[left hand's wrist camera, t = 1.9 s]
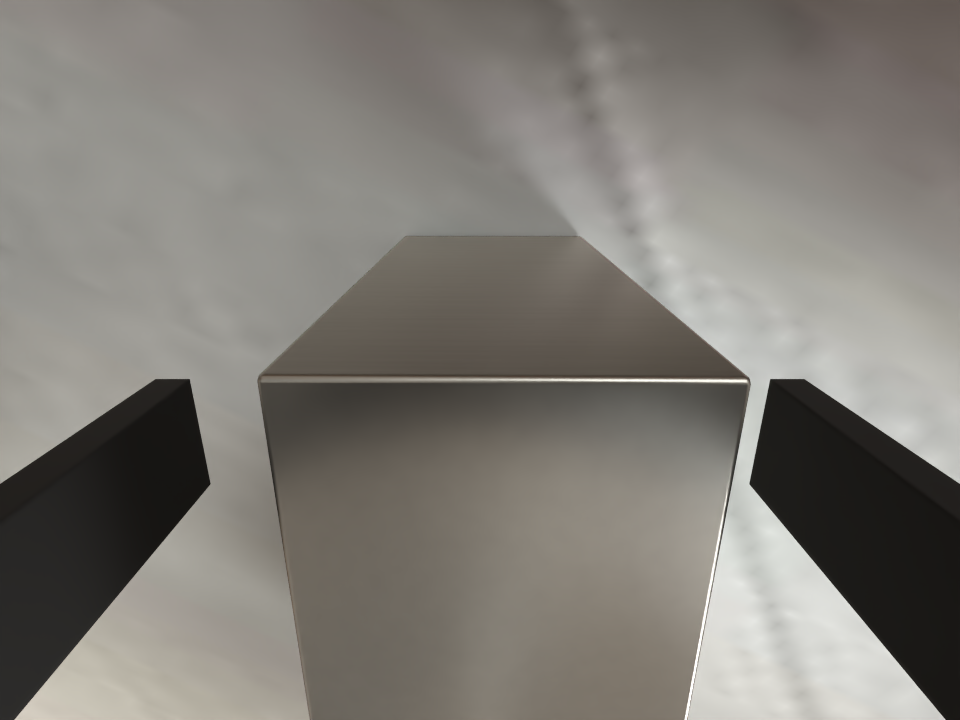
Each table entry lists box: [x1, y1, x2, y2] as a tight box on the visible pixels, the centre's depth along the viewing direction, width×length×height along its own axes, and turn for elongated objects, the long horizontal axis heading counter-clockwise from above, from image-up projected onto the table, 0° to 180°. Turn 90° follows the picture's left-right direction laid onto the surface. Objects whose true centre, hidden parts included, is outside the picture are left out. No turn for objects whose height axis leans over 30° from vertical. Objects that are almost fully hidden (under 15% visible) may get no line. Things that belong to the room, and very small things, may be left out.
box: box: [258, 236, 751, 720], centre depth 16 cm, size 20×6×13 cm, turn 0°
